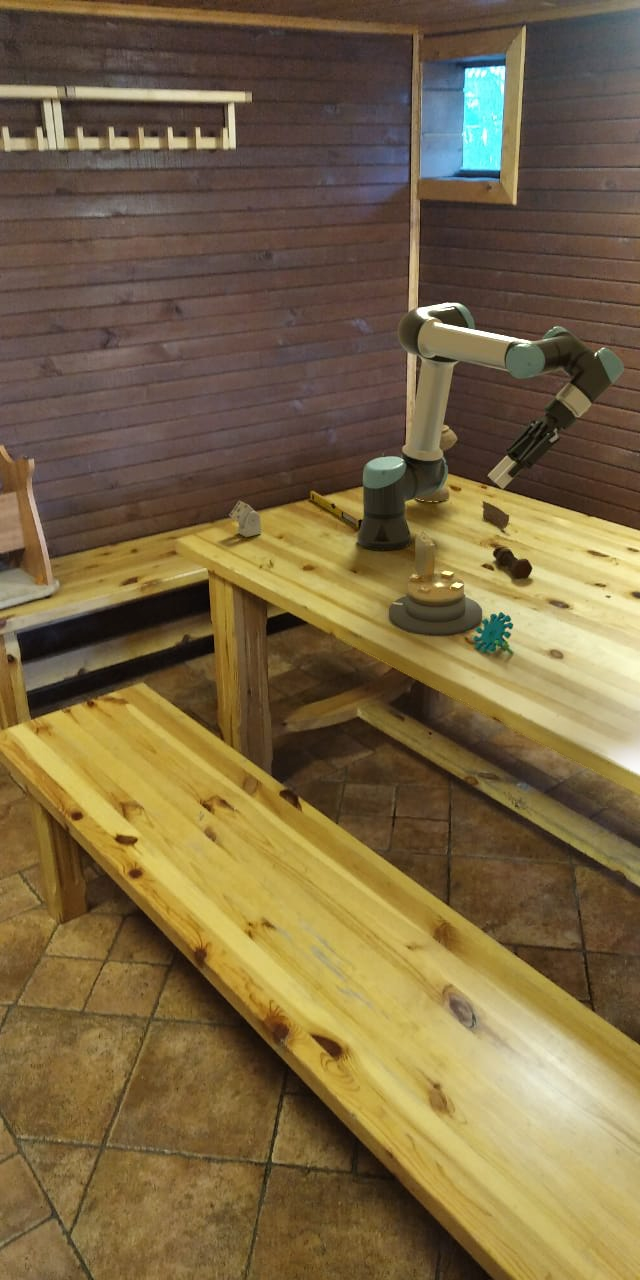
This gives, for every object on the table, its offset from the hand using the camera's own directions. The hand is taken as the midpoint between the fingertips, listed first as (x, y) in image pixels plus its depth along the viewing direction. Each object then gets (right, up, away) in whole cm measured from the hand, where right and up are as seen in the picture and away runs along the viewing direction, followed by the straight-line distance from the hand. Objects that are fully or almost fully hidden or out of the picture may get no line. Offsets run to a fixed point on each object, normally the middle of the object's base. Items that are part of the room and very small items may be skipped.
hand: (495, 482), depth 233 cm
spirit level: (-37, +1, +71) cm, 80 cm away
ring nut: (-15, -25, +1) cm, 29 cm away
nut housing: (-14, -32, 0) cm, 35 cm away
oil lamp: (-6, +8, +83) cm, 83 cm away
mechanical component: (-63, -7, +55) cm, 84 cm away
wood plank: (+10, -3, +58) cm, 59 cm away
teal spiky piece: (-3, -40, -16) cm, 43 cm away
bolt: (+9, -19, +26) cm, 33 cm away
